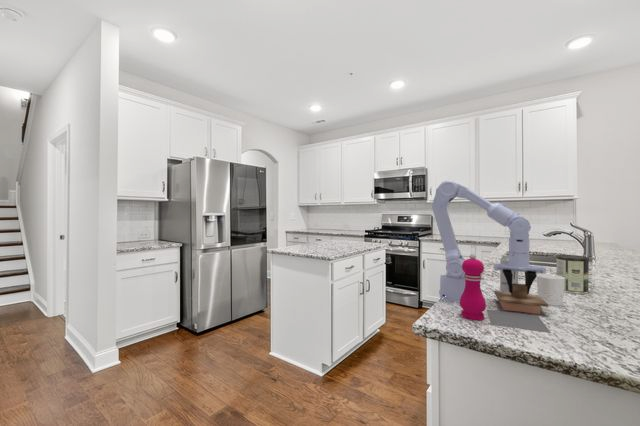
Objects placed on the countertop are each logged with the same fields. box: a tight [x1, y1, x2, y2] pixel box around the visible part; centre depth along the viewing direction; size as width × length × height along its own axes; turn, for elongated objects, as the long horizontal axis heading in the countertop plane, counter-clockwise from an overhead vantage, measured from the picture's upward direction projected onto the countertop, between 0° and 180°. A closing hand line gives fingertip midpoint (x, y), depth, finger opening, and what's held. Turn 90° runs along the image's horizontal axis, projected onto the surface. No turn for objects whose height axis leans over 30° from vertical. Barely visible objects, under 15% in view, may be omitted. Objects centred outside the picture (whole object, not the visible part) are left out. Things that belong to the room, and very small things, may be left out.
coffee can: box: [555, 254, 590, 295], centre depth 122 cm, size 10×10×14 cm
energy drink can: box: [499, 254, 519, 292], centre depth 118 cm, size 6×6×15 cm
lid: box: [493, 283, 549, 308], centre depth 100 cm, size 13×13×5 cm
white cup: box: [536, 273, 565, 307], centre depth 105 cm, size 8×8×10 cm
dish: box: [499, 302, 541, 315], centre depth 100 cm, size 10×10×3 cm
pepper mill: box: [459, 253, 487, 321], centre depth 92 cm, size 7×7×20 cm
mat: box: [486, 308, 552, 334], centre depth 89 cm, size 14×14×1 cm
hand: (518, 292), depth 100 cm, fingers closed on lid, 4 cm apart
